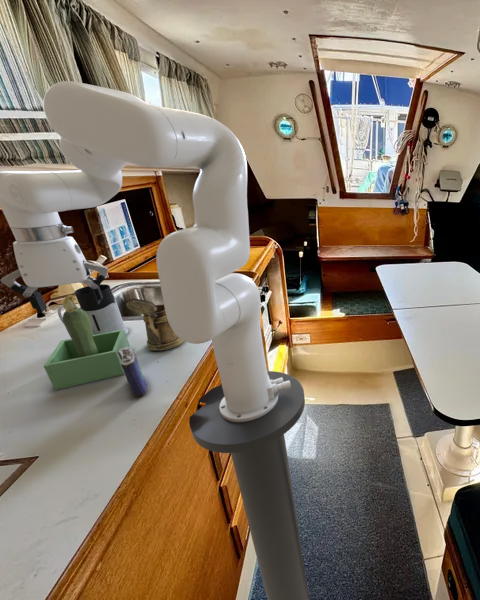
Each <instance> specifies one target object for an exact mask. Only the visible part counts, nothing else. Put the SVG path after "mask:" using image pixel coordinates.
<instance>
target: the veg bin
mask: <svg viewBox="0 0 480 600" xmlns="http://www.w3.org/2000/svg"><path fill="white" fill-rule="evenodd" d="M92 337H93V340H94V343H95V345H96V348H97V350H98V353H99V354H95V355H90V356H85V357H80V358H79V356H78V354H77V351H76V348H75V346H74V343H73V341H72V339H71V338H67V339H62V340H60V342H59V343H58V344H57V346H56V348H55V349H54V350H53V352H52V353H51V355H50V356H49V357H48V359H47V360H46V362H45V363H44V365H43V368H44V370H45V373H46V375H47V377H48V379H49V380H50V382H51V385H52V386H53V388H54V390H55V391H57V390H61V389H65V388H69V387H73V386H78V385H82V384H87V383H91V382H96V381H100V380H105V379H109V378H114V377H117V376H121V375H125V373H124V370H123V368H122V366H121V362H122V361H121V358H120V356H119V354H118V350H120V349H122V348H125V347H131V345H130V342H129V338H128V336H127V334H125V331H124V330H118V331H113V332H107V333H101V334H96V335H92Z"/></svg>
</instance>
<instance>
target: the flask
mask: <svg viewBox="0 0 480 600" xmlns="http://www.w3.org/2000/svg"><path fill="white" fill-rule="evenodd" d="M118 354H119V356H120V358H121V361H122V362H121V366H122V368H123V370H124V375H125V377H126V382H127V383H128V385H129V387H130V390H131V392H132V395H133V398H136V399H139V398H142V397H144V396H146V395H147V393H148V384H147V382H146V380H145V378H144V374H143V372H142V369H141V367H140V364H139V361H138V358H137V355H136V353H135V351H134V350H133V349H132V346H130V347H125V348H122V349H120V350H118Z"/></svg>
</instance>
